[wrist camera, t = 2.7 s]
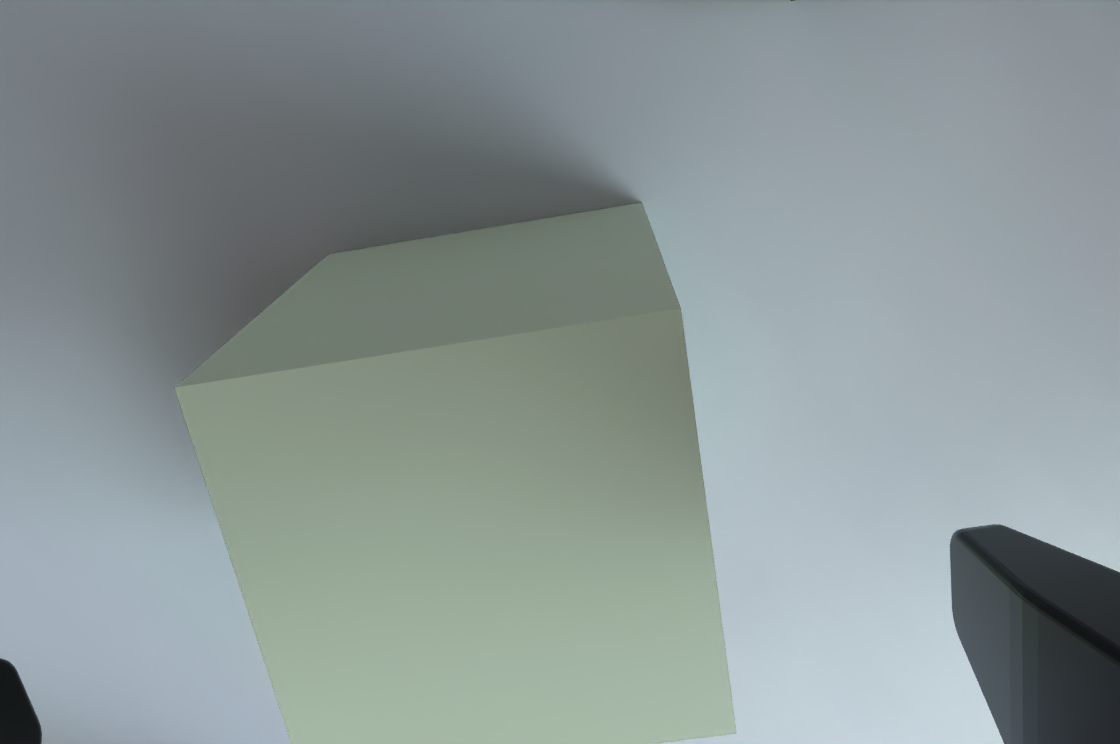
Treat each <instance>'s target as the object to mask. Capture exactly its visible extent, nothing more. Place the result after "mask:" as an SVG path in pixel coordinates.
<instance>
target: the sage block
mask: <svg viewBox="0 0 1120 744" xmlns="http://www.w3.org/2000/svg"><path fill="white" fill-rule="evenodd" d="M174 389H175V392H176V395H177V398H178V401H179V404H180V407H181V410H182V413H183V416H184V419H185V422H186V425H187V428H188V431H189V434H190V437H191V440H192V443H193V446H194V449H195V453H196V456H197V459H198V462H199V465H200V468H201V471H202V474H203V477H204V480H205V483H206V486H207V489H208V492H209V495H210V498H211V501H212V504H213V507H214V510H215V513H216V516H217V519H218V522H219V525H220V528H221V531H222V534H223V538H224V541H225V544H226V547H227V550H228V553H229V556H230V559H231V562H232V565H233V568H234V571H235V574H236V577H237V580H238V583H239V586H240V589H241V592H242V595H243V598H244V601H245V604H246V607H247V610H248V613H249V616H250V620H251V623H252V626H253V629H254V632H255V635H256V638H257V641H258V644H259V647H260V650H261V653H262V656H263V659H264V662H265V665H266V668H267V671H268V674H269V677H270V680H271V683H272V686H273V689H274V692H275V695H276V698H277V702H278V705H279V708H280V711H281V714H282V717H283V720H284V723H285V726H286V729H287V732H288V735H289V738H290V741H291V744H655V743H663V742H672V741H680V740H688V739H696V738H705V737H713V736H721V735H729V734H736V726H735V718H734V711H733V703H732V695H731V688H730V680H729V672H728V665H727V657H726V649H725V642H724V634H723V627H722V619H721V611H720V604H719V596H718V588H717V581H716V573H715V565H714V558H713V550H712V542H711V535H710V527H709V520H708V512H707V504H706V497H705V489H704V481H703V474H702V466H701V458H700V451H699V443H698V435H697V428H696V420H695V412H694V405H693V397H692V390H691V382H690V374H689V367H688V359H687V351H686V344H685V336H684V328H683V321H682V313H681V307H680V305H679V302H678V299H677V296H676V294H675V291H674V288H673V286H672V283H671V280H670V277H669V275H668V272H667V269H666V266H665V264H664V261H663V258H662V256H661V253H660V250H659V247H658V245H657V242H656V239H655V236H654V234H653V231H652V228H651V226H650V223H649V220H648V217H647V215H646V212H645V209H644V206H643V204H642V202H641V203H635V204H629V205H623V206H617V207H611V208H605V209H599V210H592V211H586V212H580V213H574V214H568V215H562V216H556V217H550V218H544V219H538V220H532V221H526V222H520V223H514V224H508V225H502V226H496V227H490V228H484V229H477V230H471V231H465V232H459V233H453V234H447V235H441V236H435V237H429V238H423V239H417V240H411V241H405V242H399V243H393V244H387V245H381V246H375V247H369V248H362V249H356V250H350V251H344V252H338V253H332V254H328V255H327V256H326V257H325V258H323V259H322V260H321V261H320V262H319V263H318V264H316V265H315V266H314V267H313V268H312V269H311V270H309V271H308V272H307V273H306V274H305V275H304V276H303V277H301V278H300V279H299V280H298V281H297V282H296V283H294V284H293V285H292V286H291V287H290V288H289V289H288V290H286V291H285V292H284V293H283V294H282V295H281V296H279V297H278V298H277V299H276V300H275V301H274V302H273V303H271V304H270V305H269V306H268V307H267V308H266V309H264V310H263V311H262V312H261V313H260V314H259V315H258V316H256V317H255V318H254V319H253V320H252V321H251V322H249V323H248V324H247V325H246V326H245V327H244V328H242V329H241V330H240V331H239V332H238V333H237V334H236V335H234V336H233V337H232V338H231V339H230V340H229V341H227V342H226V343H225V344H224V345H223V346H222V347H221V348H219V349H218V350H217V351H216V352H215V353H214V354H212V355H211V356H210V357H209V358H208V359H207V360H206V361H204V362H203V363H202V364H201V365H200V366H199V367H197V368H196V369H195V370H194V371H193V372H192V373H191V374H189V375H188V376H187V377H186V378H185V379H184V380H182V381H181V382H180V383H179V384H178V385H177V386H176V387H174Z"/></svg>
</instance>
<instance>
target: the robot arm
mask: <svg viewBox="0 0 1120 744" xmlns="http://www.w3.org/2000/svg"><path fill="white" fill-rule="evenodd" d="M950 563H951V592H952V612H953V618H954V623H955V627H956V630H957V633H958V636H959V639H960V641H961V643H962V646H963V648H964V650H965V653H966V655H967V657H968V660H969V662H970V664H971V667H972V669H973V671H974V674H975V676H976V678H977V681H978V683H979V685H980V688H981V690H982V692H983V695H984V697H985V699H986V702H987V704H988V706H989V709H990V711H991V714H992V716H993V718H994V721H995V723H996V725H997V728H998V730H999V732H1000V735H1001V737H1002V739H1003V742H1004V744H1120V572H1118V571H1115V570H1113V569H1110V568H1108V567H1105V566H1103V565H1100V564H1098V563H1095V562H1093V561H1090V560H1088V559H1085V558H1083V557H1080V556H1078V555H1075V554H1073V553H1070V552H1068V551H1065V550H1063V549H1060V548H1058V547H1056V546H1053V545H1051V544H1048V543H1046V542H1043V541H1041V540H1038V539H1036V538H1033V537H1031V536H1028V535H1026V534H1023V533H1021V532H1018V531H1016V530H1013V529H1011V528H1008V527H1006V526H1003V525H995V524H993V525H986V526H979V527H971V528H964V529H960V530H957V531H956V532H955V533H954V534H953V535H952V538H951V542H950ZM41 742H42V732H41V725H40V722H39V720H38V718H37V715H36V713H35V711H34V708H33V706H32V704H31V702H30V699H29V697H28V695H27V693H26V690H25V688H24V686H23V683H22V681H21V679H20V677H19V674H18V672H17V670H16V668H15V667H14V666H13V665H12V664H11V663H10V662H9V661H7V660H4V659H1V658H0V744H41Z"/></svg>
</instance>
